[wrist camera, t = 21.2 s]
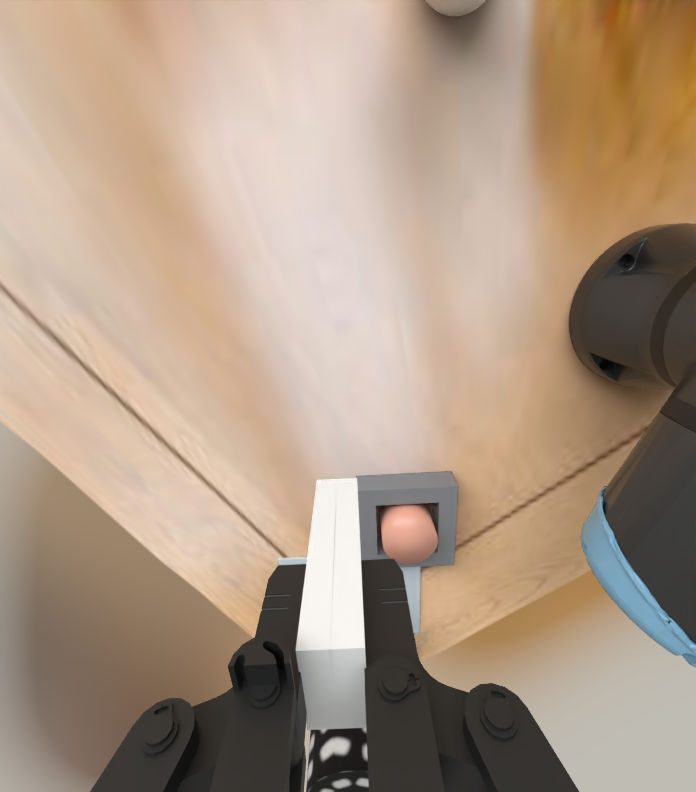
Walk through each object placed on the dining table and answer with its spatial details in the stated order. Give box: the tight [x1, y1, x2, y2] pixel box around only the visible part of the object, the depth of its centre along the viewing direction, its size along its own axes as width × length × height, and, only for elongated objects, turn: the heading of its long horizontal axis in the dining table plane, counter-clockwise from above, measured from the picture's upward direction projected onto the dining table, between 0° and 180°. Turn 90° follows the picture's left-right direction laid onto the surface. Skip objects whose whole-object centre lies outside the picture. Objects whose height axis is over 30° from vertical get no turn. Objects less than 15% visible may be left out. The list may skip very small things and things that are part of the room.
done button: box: [379, 503, 438, 564], centre depth 44 cm, size 6×6×4 cm
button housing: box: [356, 471, 458, 568], centre depth 45 cm, size 11×11×3 cm
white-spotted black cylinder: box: [306, 728, 369, 792], centre depth 42 cm, size 8×8×20 cm
